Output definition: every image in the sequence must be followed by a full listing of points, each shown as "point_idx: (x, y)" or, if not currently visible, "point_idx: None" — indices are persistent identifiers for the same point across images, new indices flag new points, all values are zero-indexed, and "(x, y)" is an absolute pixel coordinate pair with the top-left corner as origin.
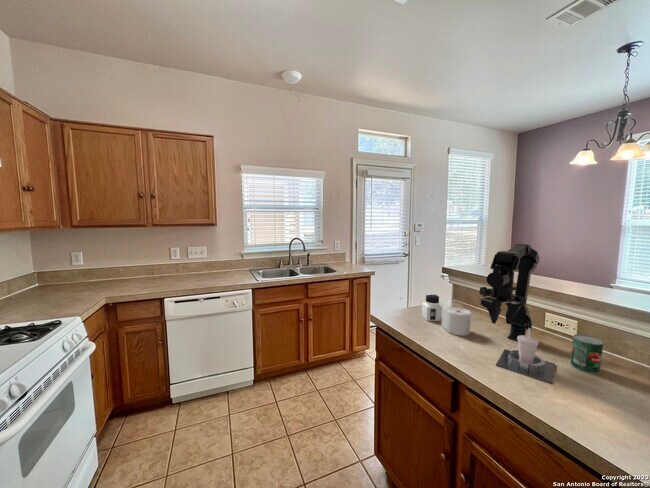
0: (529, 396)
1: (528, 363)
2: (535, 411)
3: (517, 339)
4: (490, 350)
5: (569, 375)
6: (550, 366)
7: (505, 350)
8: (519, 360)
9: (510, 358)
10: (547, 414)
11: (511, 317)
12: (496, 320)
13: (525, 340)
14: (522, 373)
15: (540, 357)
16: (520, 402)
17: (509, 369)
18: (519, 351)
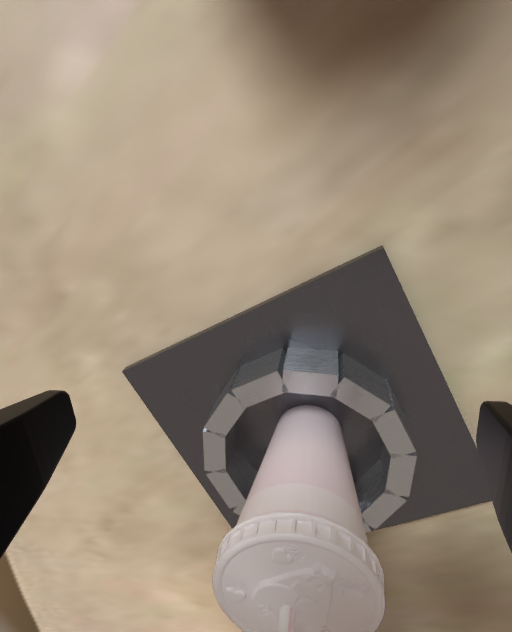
0: (82, 549)
1: (242, 502)
2: (37, 585)
3: (235, 529)
4: (263, 207)
5: (431, 560)
6: (424, 501)
7: (363, 267)
8: (220, 466)
9: (211, 412)
10: (63, 604)
11: (496, 510)
12: (30, 493)
13: (244, 598)
14: (193, 472)
15: (408, 495)
16: (23, 550)
17: (163, 424)
18: (261, 467)
